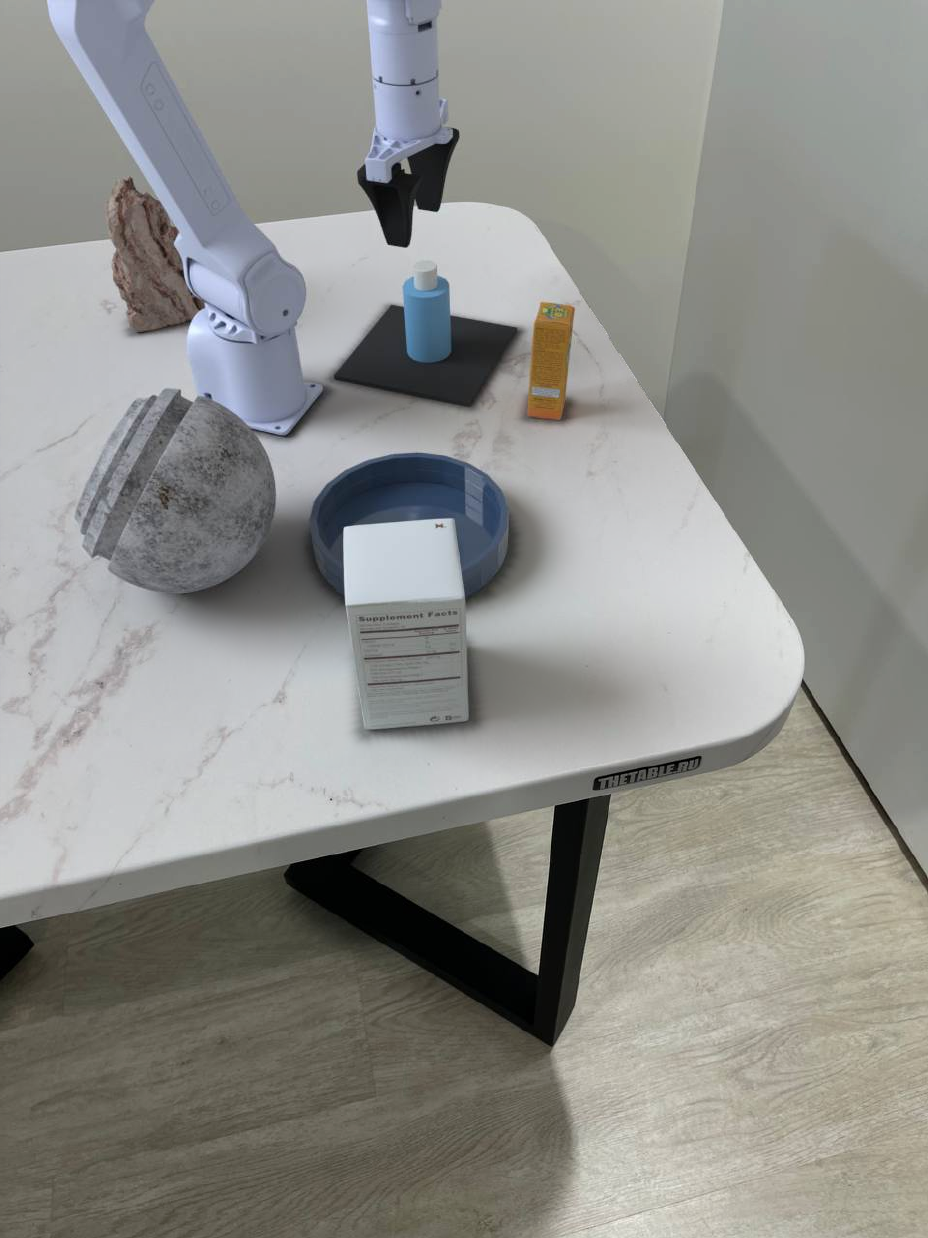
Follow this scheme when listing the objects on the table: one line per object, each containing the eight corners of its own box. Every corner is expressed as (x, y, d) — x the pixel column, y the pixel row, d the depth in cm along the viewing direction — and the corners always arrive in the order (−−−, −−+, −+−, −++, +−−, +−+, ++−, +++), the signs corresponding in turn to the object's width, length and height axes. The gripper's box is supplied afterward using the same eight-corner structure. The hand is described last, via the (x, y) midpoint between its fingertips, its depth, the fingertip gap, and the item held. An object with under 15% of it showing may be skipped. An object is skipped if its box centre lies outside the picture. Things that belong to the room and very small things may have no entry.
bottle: (400, 358, 100) (393, 272, 93) (417, 335, 102) (412, 250, 96) (441, 366, 98) (438, 280, 92) (457, 343, 101) (455, 258, 95)
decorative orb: (145, 497, 86) (96, 342, 75) (310, 513, 85) (283, 356, 74) (72, 623, 76) (3, 465, 65) (257, 644, 75) (217, 485, 64)
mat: (334, 379, 98) (333, 375, 98) (391, 307, 107) (391, 304, 107) (469, 406, 95) (469, 403, 94) (517, 330, 103) (517, 327, 103)
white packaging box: (360, 652, 74) (341, 521, 65) (461, 644, 74) (457, 513, 65) (361, 733, 69) (342, 605, 60) (470, 725, 69) (467, 596, 60)
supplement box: (563, 421, 93) (570, 323, 85) (526, 417, 93) (529, 320, 86) (568, 400, 95) (575, 303, 88) (532, 397, 95) (535, 300, 88)
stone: (94, 202, 93) (204, 191, 95) (87, 163, 97) (192, 153, 100) (125, 337, 104) (223, 324, 107) (117, 296, 109) (211, 285, 111)
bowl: (280, 583, 79) (274, 555, 77) (363, 464, 89) (360, 436, 87) (467, 633, 75) (466, 605, 73) (533, 502, 85) (534, 474, 83)
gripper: (416, 110, 82) (424, 268, 91) (477, 50, 91) (479, 200, 101) (337, 100, 83) (353, 256, 93) (405, 42, 93) (413, 190, 102)
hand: (413, 226), depth 97 cm, fingers open, 7 cm apart
